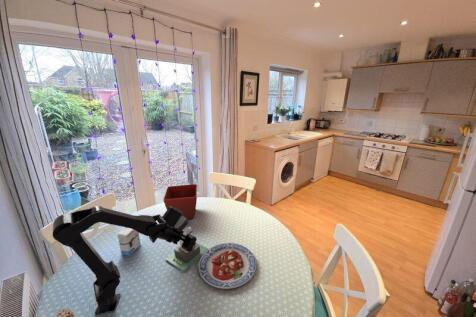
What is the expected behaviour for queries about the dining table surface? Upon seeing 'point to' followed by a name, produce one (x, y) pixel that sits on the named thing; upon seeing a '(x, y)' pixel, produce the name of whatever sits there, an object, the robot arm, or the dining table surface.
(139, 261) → the dining table surface
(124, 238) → the ink box
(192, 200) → the plant pot
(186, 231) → the keyed plug
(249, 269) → the ceramic plate
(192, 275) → the dining table surface
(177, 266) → the header board
